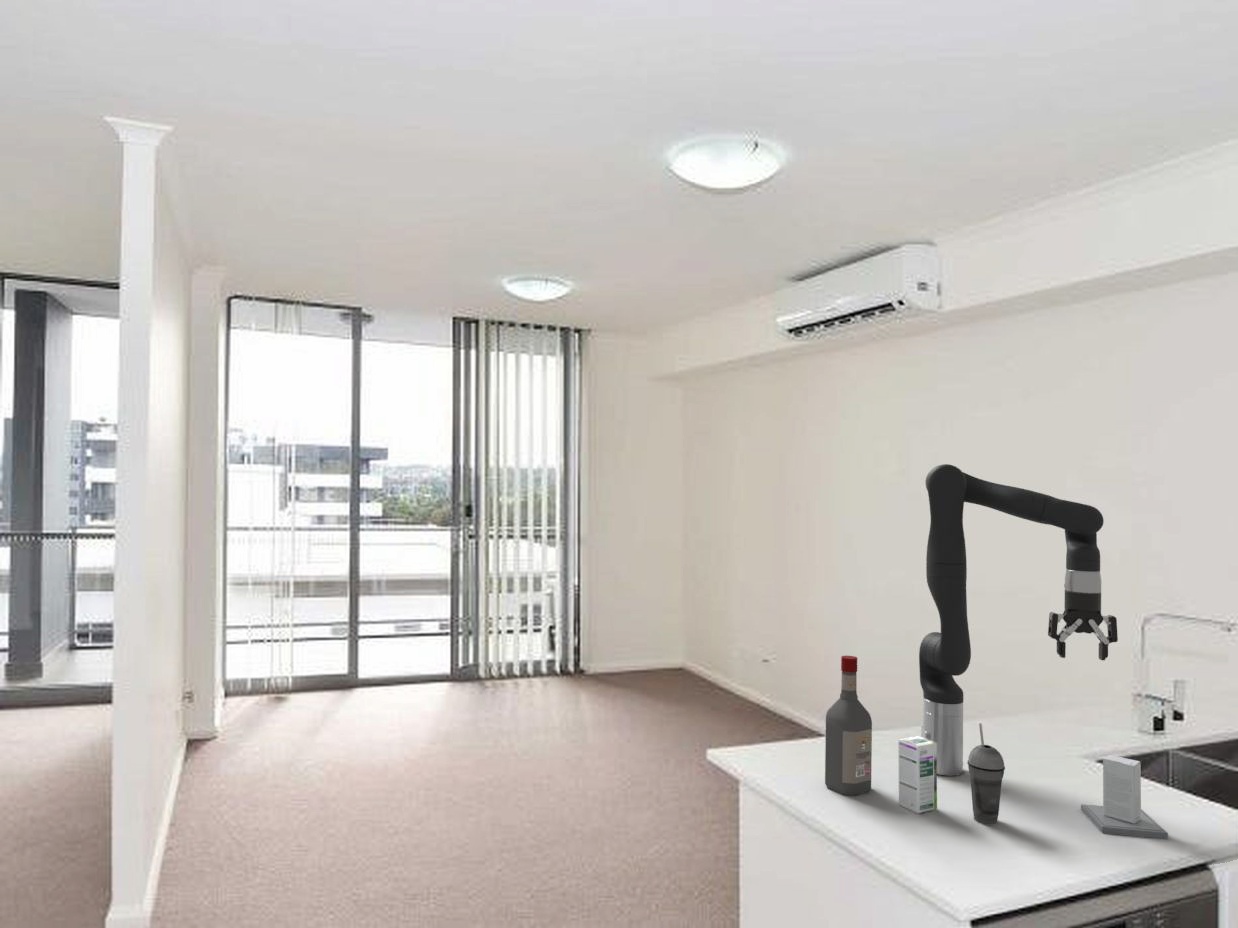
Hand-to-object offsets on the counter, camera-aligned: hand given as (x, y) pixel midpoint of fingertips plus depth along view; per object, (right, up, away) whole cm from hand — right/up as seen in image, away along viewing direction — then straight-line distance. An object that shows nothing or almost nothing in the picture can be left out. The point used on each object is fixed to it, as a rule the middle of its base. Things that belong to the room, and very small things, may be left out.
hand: (1082, 658), depth 192 cm
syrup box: (-44, -29, -14) cm, 55 cm away
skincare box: (-4, -28, -21) cm, 36 cm away
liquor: (-56, -29, -4) cm, 63 cm away
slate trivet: (-4, -30, -21) cm, 36 cm away
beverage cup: (-32, -29, -21) cm, 48 cm away
